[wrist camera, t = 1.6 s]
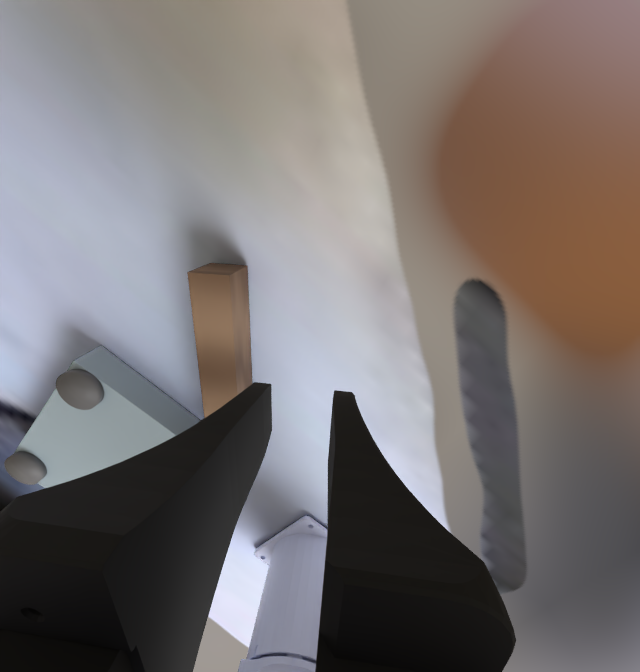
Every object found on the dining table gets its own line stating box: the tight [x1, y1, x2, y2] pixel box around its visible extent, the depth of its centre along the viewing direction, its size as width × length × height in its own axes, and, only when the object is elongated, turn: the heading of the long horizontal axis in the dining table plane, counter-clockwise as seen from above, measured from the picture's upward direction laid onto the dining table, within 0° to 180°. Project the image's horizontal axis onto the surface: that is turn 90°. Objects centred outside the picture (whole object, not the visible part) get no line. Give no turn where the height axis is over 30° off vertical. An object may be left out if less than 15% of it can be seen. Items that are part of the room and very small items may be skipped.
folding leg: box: [188, 263, 252, 418], centre depth 21 cm, size 14×2×3 cm, turn 177°
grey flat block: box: [5, 346, 201, 488], centre depth 26 cm, size 12×14×3 cm
